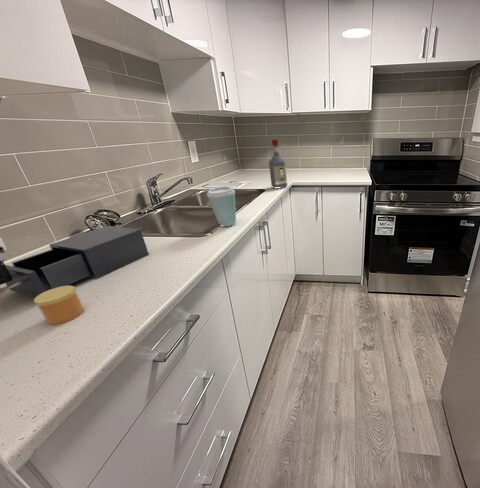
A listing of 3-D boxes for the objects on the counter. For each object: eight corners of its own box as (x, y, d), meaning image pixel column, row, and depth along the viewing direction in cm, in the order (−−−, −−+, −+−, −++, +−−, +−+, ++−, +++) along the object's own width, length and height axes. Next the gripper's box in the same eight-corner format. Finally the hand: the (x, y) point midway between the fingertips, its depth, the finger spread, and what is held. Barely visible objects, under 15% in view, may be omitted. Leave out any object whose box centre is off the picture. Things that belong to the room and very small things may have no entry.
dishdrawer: (97, 278, 71) (84, 250, 67) (62, 271, 75) (48, 244, 72) (149, 254, 84) (140, 229, 81) (117, 249, 89) (107, 225, 85)
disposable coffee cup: (234, 229, 104) (227, 191, 98) (208, 229, 105) (200, 191, 99) (244, 220, 113) (238, 185, 107) (220, 220, 114) (213, 186, 108)
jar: (40, 328, 53) (27, 306, 50) (53, 311, 58) (41, 290, 56) (79, 319, 55) (68, 297, 53) (88, 303, 60) (78, 282, 58)
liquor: (270, 187, 179) (264, 140, 167) (281, 185, 184) (277, 139, 172) (277, 189, 172) (272, 140, 160) (288, 187, 178) (284, 139, 166)
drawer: (14, 312, 57) (-3, 285, 54) (-20, 301, 61) (-37, 276, 58) (107, 269, 73) (98, 247, 71) (76, 263, 77) (66, 242, 75)
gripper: (-98, 206, 51) (-41, 287, 58) (-60, 210, 46) (-3, 297, 53) (-39, 197, 57) (5, 270, 64) (-1, 200, 52) (43, 278, 60)
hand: (1, 282), depth 59 cm, fingers closed
